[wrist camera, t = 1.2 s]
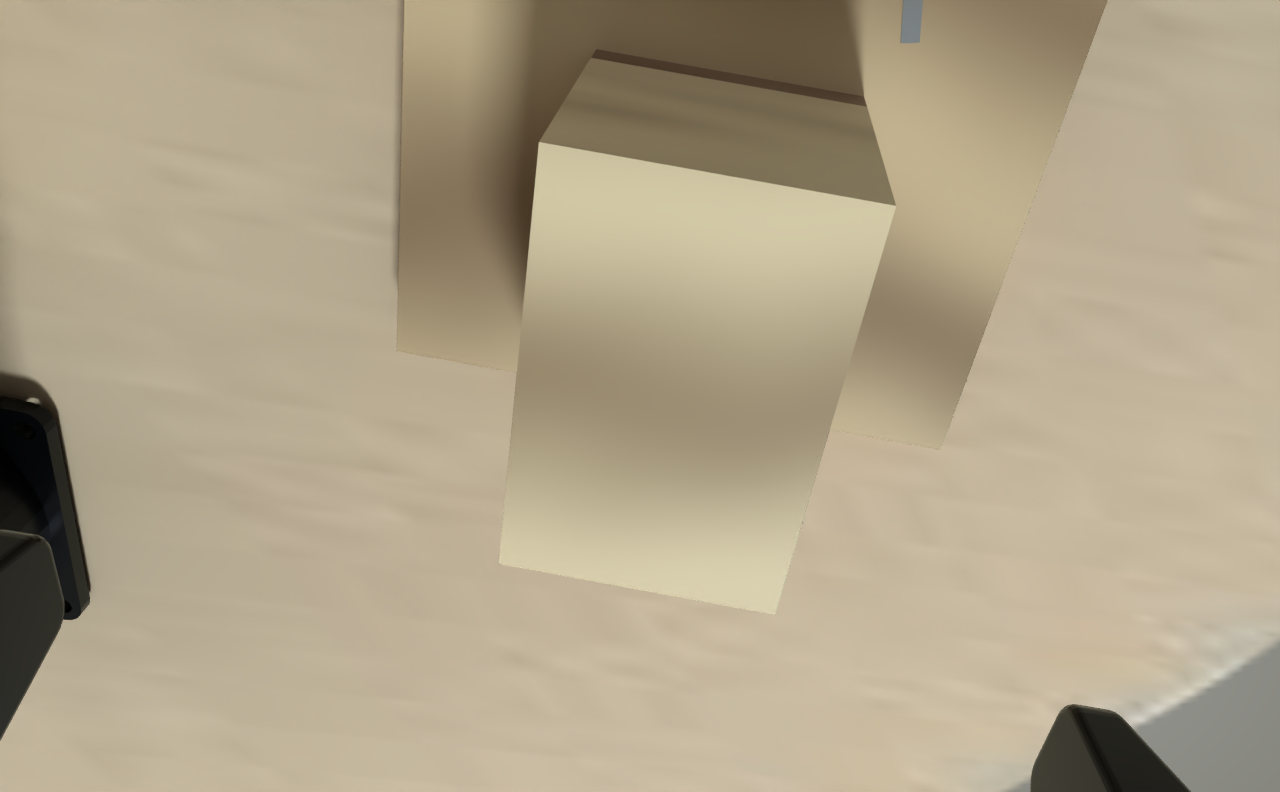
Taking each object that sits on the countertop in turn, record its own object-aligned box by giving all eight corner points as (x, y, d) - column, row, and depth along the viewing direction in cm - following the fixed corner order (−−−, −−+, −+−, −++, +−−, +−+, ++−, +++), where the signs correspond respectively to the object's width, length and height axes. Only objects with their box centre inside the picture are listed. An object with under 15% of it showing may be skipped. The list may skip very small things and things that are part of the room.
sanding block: (773, 441, 21) (775, 614, 16) (553, 400, 21) (498, 564, 16) (864, 96, 17) (897, 206, 13) (596, 49, 17) (538, 142, 13)
